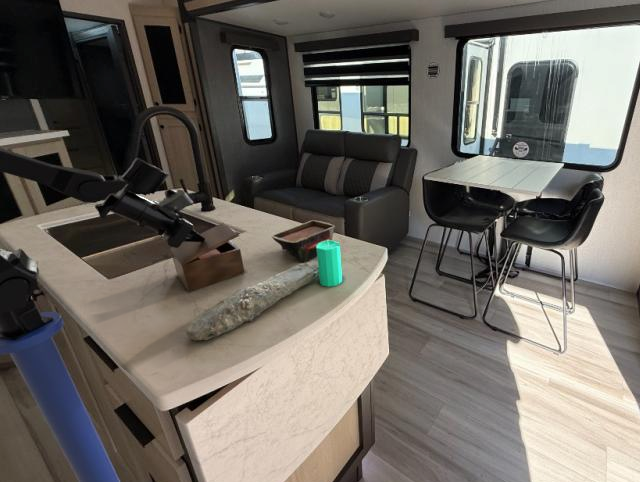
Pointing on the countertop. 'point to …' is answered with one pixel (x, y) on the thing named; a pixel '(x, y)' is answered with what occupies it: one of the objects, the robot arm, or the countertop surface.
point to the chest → (210, 267)
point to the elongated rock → (250, 302)
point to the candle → (329, 263)
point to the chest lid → (204, 243)
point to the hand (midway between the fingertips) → (203, 240)
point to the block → (209, 254)
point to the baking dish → (304, 239)
